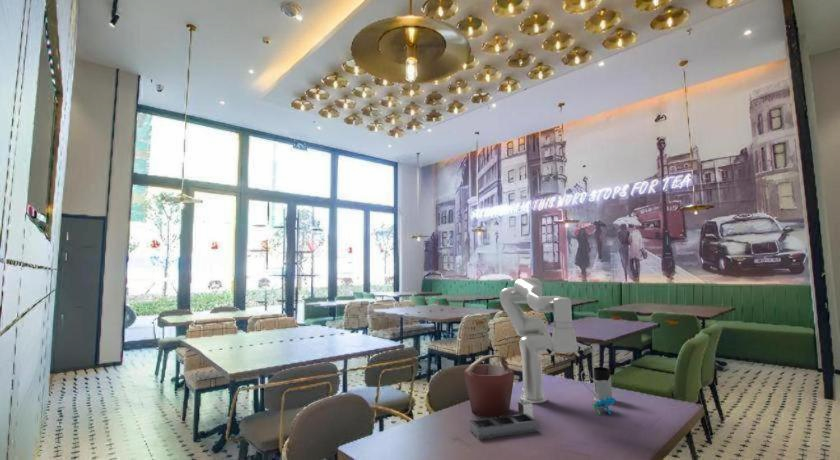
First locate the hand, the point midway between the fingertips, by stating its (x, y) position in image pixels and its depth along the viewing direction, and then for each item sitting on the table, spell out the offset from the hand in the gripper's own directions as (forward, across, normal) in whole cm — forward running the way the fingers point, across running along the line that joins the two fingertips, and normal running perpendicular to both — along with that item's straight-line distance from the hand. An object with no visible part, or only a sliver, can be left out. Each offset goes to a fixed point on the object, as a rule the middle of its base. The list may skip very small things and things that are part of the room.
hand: (565, 364), depth 174 cm
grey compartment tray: (+23, -27, -19) cm, 40 cm away
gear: (+23, +17, +11) cm, 31 cm away
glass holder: (+23, +18, +28) cm, 41 cm away
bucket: (+23, -33, +3) cm, 41 cm away
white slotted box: (+23, -18, -4) cm, 30 cm away
